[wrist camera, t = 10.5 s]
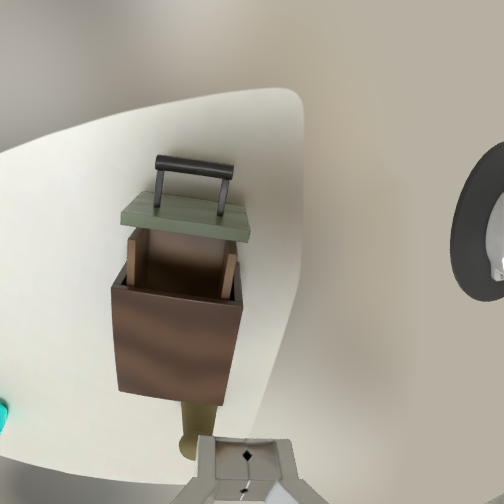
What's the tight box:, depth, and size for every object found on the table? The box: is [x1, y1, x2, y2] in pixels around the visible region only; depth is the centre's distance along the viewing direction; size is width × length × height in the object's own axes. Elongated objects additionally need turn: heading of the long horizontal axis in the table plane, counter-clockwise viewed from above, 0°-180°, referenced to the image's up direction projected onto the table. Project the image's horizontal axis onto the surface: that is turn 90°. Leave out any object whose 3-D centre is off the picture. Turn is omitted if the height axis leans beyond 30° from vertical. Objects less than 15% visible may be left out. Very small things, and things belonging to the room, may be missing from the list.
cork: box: [179, 401, 217, 461], centre depth 43 cm, size 6×6×11 cm
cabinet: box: [111, 261, 243, 406], centre depth 36 cm, size 15×13×10 cm
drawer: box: [120, 155, 250, 301], centre depth 32 cm, size 18×11×8 cm, turn 169°
